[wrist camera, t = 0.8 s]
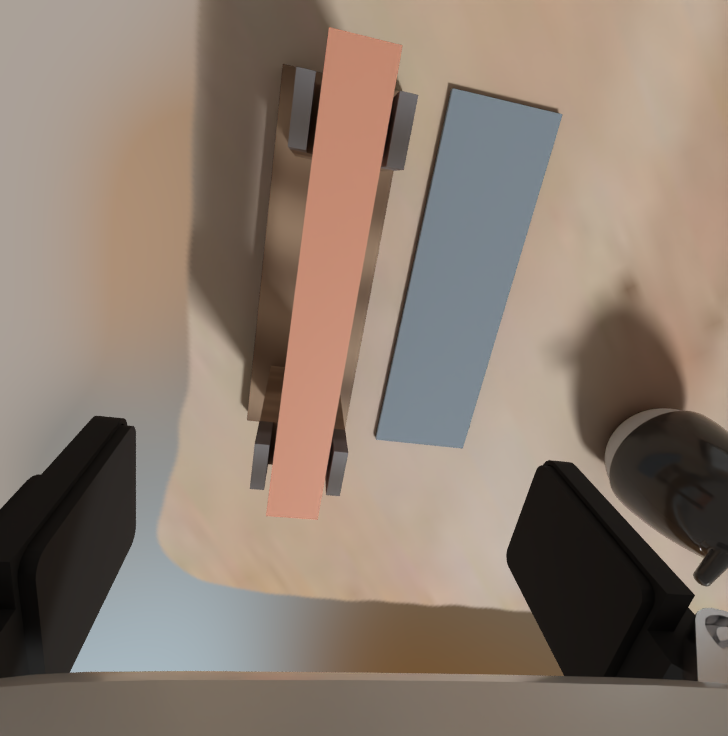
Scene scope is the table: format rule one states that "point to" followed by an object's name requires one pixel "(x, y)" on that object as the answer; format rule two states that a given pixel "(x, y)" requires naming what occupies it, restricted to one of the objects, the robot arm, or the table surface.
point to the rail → (331, 261)
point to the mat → (464, 264)
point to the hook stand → (283, 261)
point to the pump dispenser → (675, 481)
